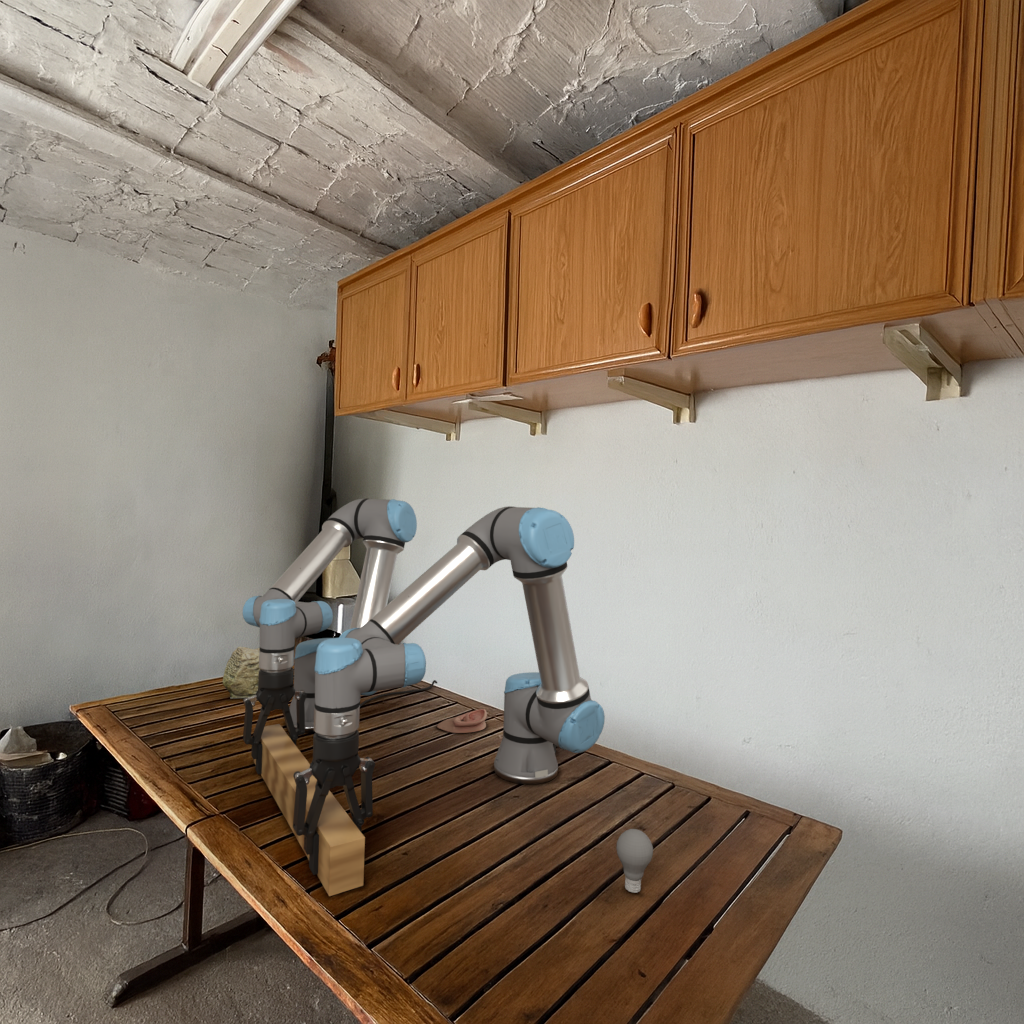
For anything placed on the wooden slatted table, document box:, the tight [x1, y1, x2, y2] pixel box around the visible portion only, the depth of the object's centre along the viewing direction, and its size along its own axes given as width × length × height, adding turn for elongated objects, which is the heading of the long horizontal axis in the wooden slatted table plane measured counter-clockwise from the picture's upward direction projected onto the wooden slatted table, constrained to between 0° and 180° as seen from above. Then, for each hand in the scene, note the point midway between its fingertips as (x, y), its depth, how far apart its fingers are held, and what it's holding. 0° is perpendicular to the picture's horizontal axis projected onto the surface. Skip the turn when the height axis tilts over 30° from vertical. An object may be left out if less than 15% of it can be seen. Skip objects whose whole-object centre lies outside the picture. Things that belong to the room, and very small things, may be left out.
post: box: [253, 723, 366, 897], centre depth 126 cm, size 58×6×8 cm, turn 33°
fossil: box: [222, 646, 260, 699], centre depth 198 cm, size 9×18×15 cm, turn 132°
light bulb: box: [615, 828, 654, 894], centre depth 106 cm, size 6×6×10 cm
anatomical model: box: [436, 708, 488, 734], centre depth 178 cm, size 13×4×12 cm
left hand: (273, 768), depth 144 cm, fingers closed on post, 6 cm apart
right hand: (332, 864), depth 108 cm, fingers closed on post, 6 cm apart
